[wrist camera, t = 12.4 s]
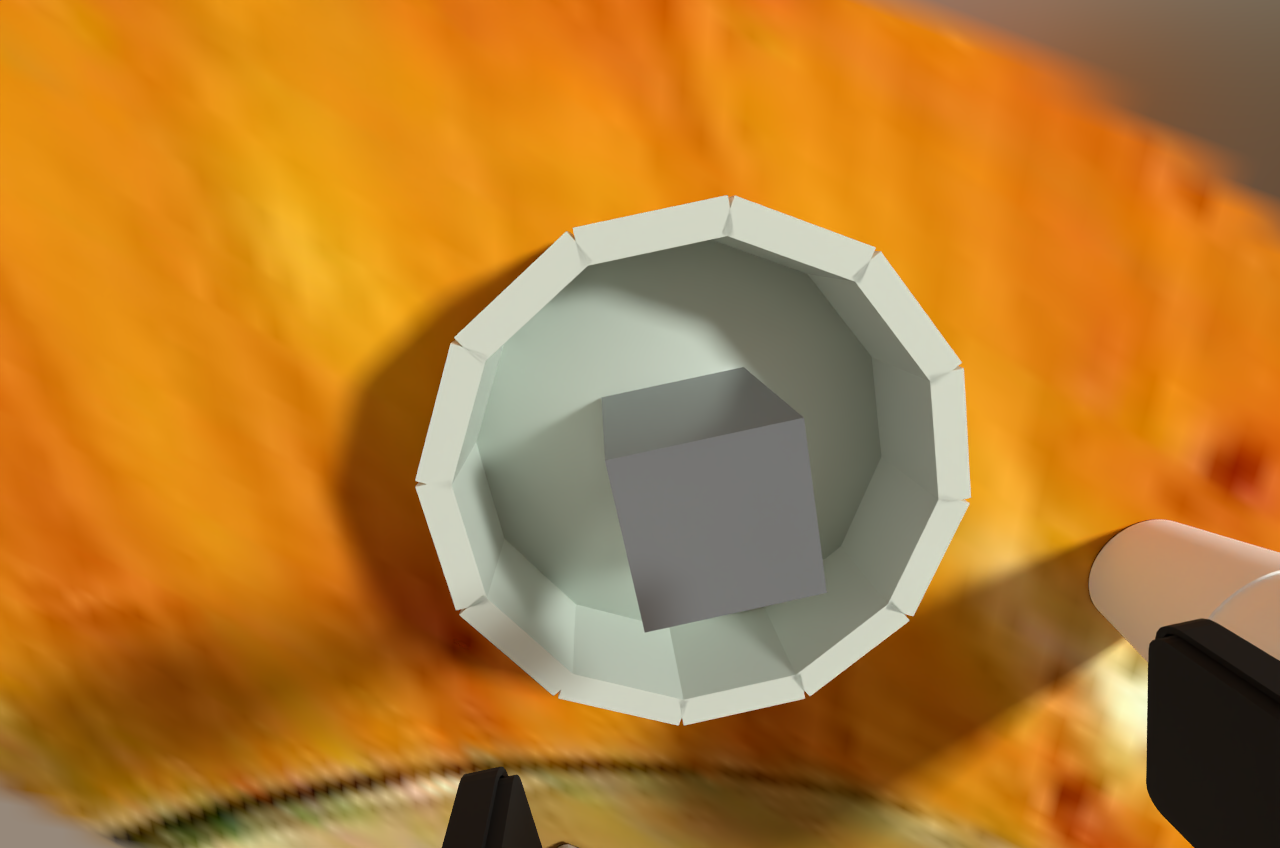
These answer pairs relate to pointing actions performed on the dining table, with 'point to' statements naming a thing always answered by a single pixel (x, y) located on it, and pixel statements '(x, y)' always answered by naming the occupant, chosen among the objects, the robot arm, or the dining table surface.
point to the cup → (1186, 584)
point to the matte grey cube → (712, 497)
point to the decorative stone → (567, 846)
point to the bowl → (668, 352)
